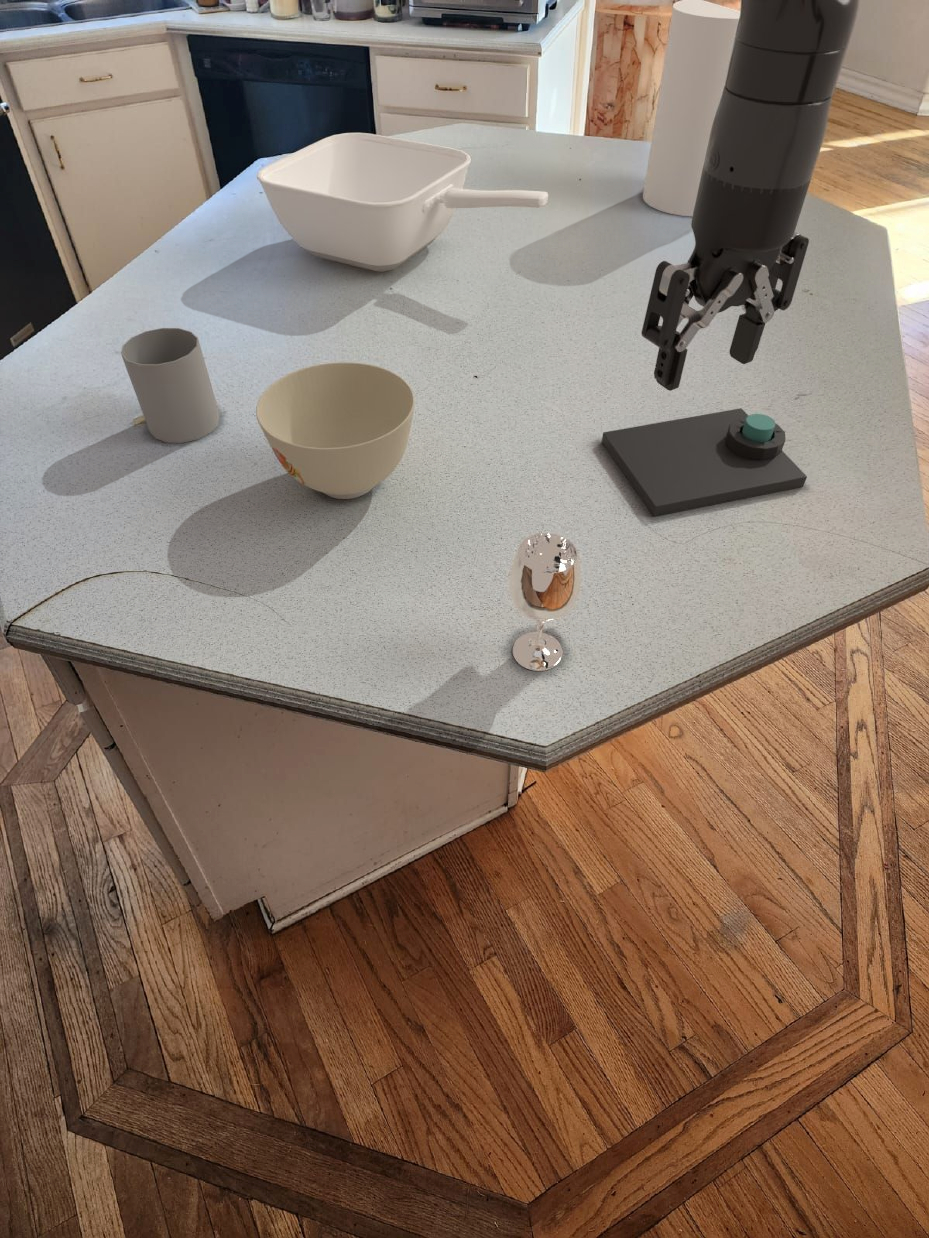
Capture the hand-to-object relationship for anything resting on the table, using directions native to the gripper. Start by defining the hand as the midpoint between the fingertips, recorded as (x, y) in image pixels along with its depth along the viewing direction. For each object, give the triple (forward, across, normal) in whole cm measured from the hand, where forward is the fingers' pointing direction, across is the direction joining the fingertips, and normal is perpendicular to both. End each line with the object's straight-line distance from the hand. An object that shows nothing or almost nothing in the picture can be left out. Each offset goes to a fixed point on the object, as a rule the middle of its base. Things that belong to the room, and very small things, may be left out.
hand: (704, 372), depth 66 cm
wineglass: (+18, -21, -7) cm, 28 cm away
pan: (+18, +9, +71) cm, 73 cm away
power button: (+15, +17, +4) cm, 23 cm away
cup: (+18, -37, +44) cm, 61 cm away
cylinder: (+18, +65, +68) cm, 96 cm away
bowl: (+18, -25, +24) cm, 39 cm away
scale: (+18, +10, +6) cm, 21 cm away
